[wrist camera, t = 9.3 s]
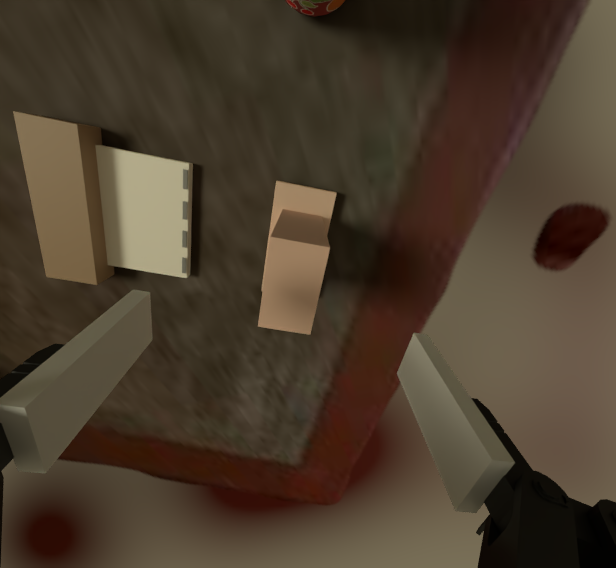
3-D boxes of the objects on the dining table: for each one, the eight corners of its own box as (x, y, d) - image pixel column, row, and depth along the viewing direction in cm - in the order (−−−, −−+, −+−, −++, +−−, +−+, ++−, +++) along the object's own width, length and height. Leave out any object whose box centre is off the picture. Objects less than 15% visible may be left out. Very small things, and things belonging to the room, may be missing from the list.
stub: (262, 287, 33) (241, 351, 22) (277, 180, 28) (259, 194, 17) (312, 295, 34) (316, 362, 23) (335, 191, 29) (354, 212, 18)
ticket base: (63, 265, 32) (41, 276, 29) (38, 114, 26) (6, 109, 23) (190, 286, 33) (179, 298, 30) (193, 146, 27) (180, 145, 24)
